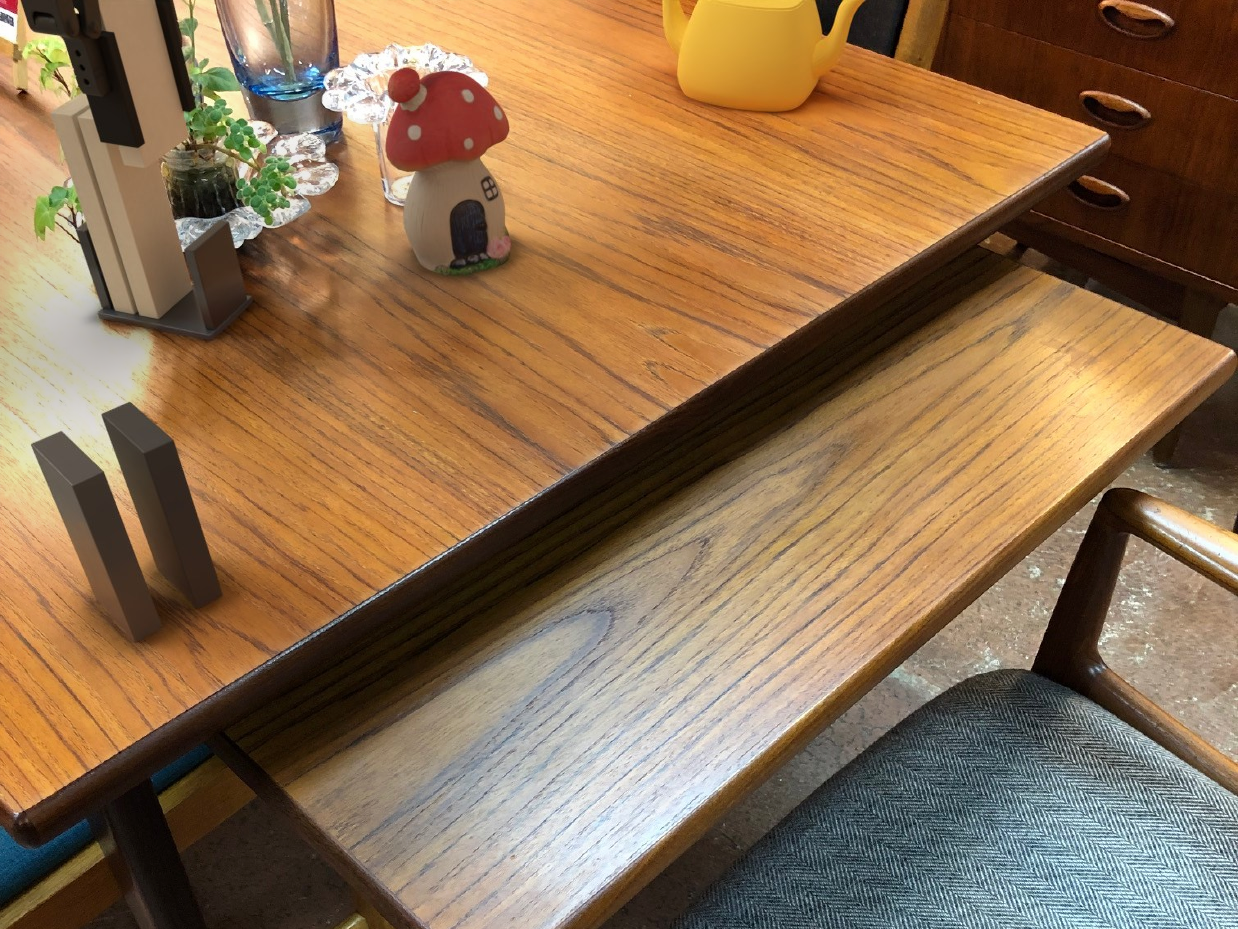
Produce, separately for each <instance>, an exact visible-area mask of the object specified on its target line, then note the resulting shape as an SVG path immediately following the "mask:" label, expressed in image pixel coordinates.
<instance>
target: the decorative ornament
mask: <svg viewBox="0 0 1238 929" xmlns="http://www.w3.org/2000/svg"><path fill="white" fill-rule="evenodd" d="M387 95H388V97H389V98H390V99H391V100H392V102H394V103H397V105H396V106H395V109H394V111H393V114H392V117H391V119H390V122H389V125H388V128H387V132H386V137H385V144H384V145H385V146H384V147H385V148H384V150H385V155H386V158H387V160H388V162H389V163H390V165H392V166H393V168H395V169H396V170H398V171H402V172H406V173H414V174H413V176H412V179H411V182H410V185H409V186H408V188H407V189H408V190H407V192H406V197H405V200H404V206H403V216H402V217H403V218H402V220H403V227H404V231H405V235H406V237H407V239H408V241H409V243H410V245H411V247H412V250H413V252H414V254H415V256H416V258H417V261H418V263H419V264H420V265H421V266H422V267H423V268H424V269H427V270H429V271H432V272H434V273H436V274H439V275H444V276H466V275H472V274H476V273H479V272H485V271H487V270H490V269H494V268H497V267H499V266H501V265H503V264H504V263H505V262H507V261H508V260H509V257H510V254H511V247H512V244H511V237H510V234H509V230H508V228H507V225H506V206H505V201H504V197H503V193H502V191H501V188H500V186H499V184H498V182H497V180H496V179H495V177H494V175H493V174H492V173H491V172H490V170H489V168H487V166H486V165H485V164H484V162H483V161H482V159H481V157H482V156H483V155H484V154H486V152H487V151H488V149H490V148H492V147H493V146H496V145H497V144H501V143H502V142H504V141H505V140H506V139H507V137H508V135H509V133H510V127H511V126H510V123H509V119H508V117H507V115H506V113H505V111H504V109H503V107H502V106H501V105H500V103H499V102H498V101H497V100H496V99H495V97H494V96H493V95H492V94H491V93H490V92H489V91H488V90H487V89H486V88H485V87H483V85H482V84H481V83H479V82H478V81H477V80H476V79H474V78H473V77H471V76H469V75H468V74H466V73H464V72H460V71H454V70H440V71H436V72H430V73H427V74H425V75H423V76H422V77H421V78H420V74H419V73H418V72H417V71H416V70H415V69H413V68H411V67H402V68H400V69H398V70H396V71H395V72H393V73H392V74H391V75H390V77H389V79H388V82H387Z"/></svg>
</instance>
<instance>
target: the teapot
mask: <svg viewBox="0 0 1238 929" xmlns="http://www.w3.org/2000/svg"><path fill="white" fill-rule="evenodd" d="M661 1H662V2H661V3H662V4H661V6H662V25H663V32H664V36H665V38H666V42H667V44H668V45H669V47H670V48H671V49H670V50H672V52H673V53H674V54H675V55H677V57H678V59H677V69H676V77H677V82H678V84H679V87H680V89H681V91H682V93H683V94H684V95H685V96H686V97H688V98H690V99H692V100H694V101H695V100H696V101H698V102H702V103H706V104H709V105H714V106H718V107H722V108H727V109H734V110H742V111H751V112H753V111H755V112H768V113H769V112H770V113H771V112H776V113H777V112H778V113H779V112H787V111H792V110H795V109H797V108H799V107H800V106H801V105H802V104H803V103H804V102H806V100H807V99H808V98H809V96H810V95H811V94H812V92H813V91H814V89H815V88H816V86H817V84H818V82H819V80H820V77H822V76H824V75H826V74H828V73H829V72H830V71H831V70H832V69H833V68H834V67H835V66H837V63H838V62H839V60H840V59H841V57H842V55H843V52H844V51H845V47H846V43H847V40H848V36H849V32H850V28H851V24H852V22H853V18H854V16H855V14H856V12H857V11H858V9H859V7H860V6H861V5H862V4H863V3H864V2H866V0H842V1H841V3H840V5H839V6H838V8H837V11H836V15H835V18H834V21H833V25H832V27H831V30H830V32H829V33H828V34H827V35H826V36H825V37H824V36H823V29H822V24H821V19H820V15H819V11H818V6H817V3H816V0H697V2H696V4H695V6H694V9H693V11H692V13H691V16H690V18H688V17H687V16H686V14H685V13H684V11H683V8H682V5H681V0H661Z"/></svg>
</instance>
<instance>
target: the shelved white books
mask: <svg viewBox="0 0 1238 929" xmlns="http://www.w3.org/2000/svg"><path fill="white" fill-rule="evenodd" d="M49 114H50V117H51V120H52V123H53V126H54V129H55V133H56V135H57V138H58V141H59V145H60V147H61V148H60V149H61V150H62V153H63V157H64V160H65V162H66V166H67V168H68V172H69V175H70V178H71V181H72V184H73V187H74V190H75V193H76V196H77V199H78V203H79V206H80V208H81V212H82V215H83V217H84V221H85V222H86V224H87V227H88V230H89V233H90V236H91V239H92V242H93V245H94V248H95V251H96V254H97V257H98V260H99V263H100V266H101V269H102V272H103V275H104V278H105V281H106V284H107V287H108V290H109V293H110V296H111V299H112V302H113V306H114V309H115V311H120V312H125V313H130V314H135V313H136V312H139V315H140V316H145V317H150V318H155V319H159V318H161V317H162V316H163V315H164V314H165V313H166V312H167V311H169V310H170V309H171V308H172V307H173V306H174V305H175V304H177V303H178V302H179V301H180V300H181V299H182V298H183V297H185V296H186V295H187V294H188V293H189V292H190V291H191V290H193V287H192V285H193V283H192V279H191V275H190V272H189V268H188V264H187V261H186V257H185V253H184V250H183V247H182V244H181V239H180V236H179V232H178V230H177V226H176V222H175V219H174V218H175V217H174V214H173V210H172V207H171V204H170V200H169V196H168V193H167V188H166V185H165V182H164V177H163V173H162V171H161V167H160V164H159V159H158V160H157V161H155V162H154V163H152V164H151V165H150V166H148V167H147V168H139V167H133V166H127V165H124V163H123V160H122V156H121V153H120V150H119V146H118V145H115V144H109V143H103V142H100V139H99V135H98V132H97V129H96V126H95V122H94V119H93V116H92V113H91V109H90V106H89V103H88V100H87V96H86V94H83V93H82V92H81V93H79V94H77V95H76V96H74V97H73V98H71V99H69V100H68V101H65V103H63V104H61V105H59V106H58V107H56V108H54V109H52V111H50V112H49Z"/></svg>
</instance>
